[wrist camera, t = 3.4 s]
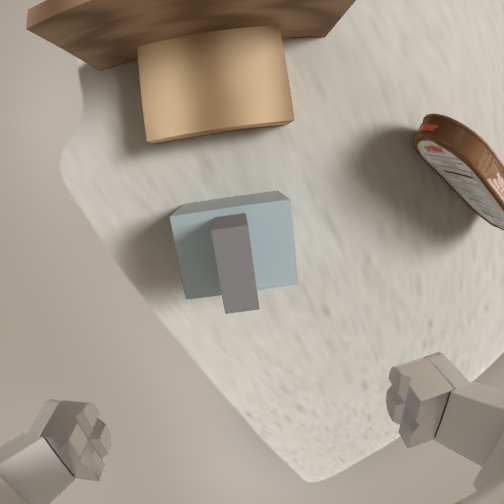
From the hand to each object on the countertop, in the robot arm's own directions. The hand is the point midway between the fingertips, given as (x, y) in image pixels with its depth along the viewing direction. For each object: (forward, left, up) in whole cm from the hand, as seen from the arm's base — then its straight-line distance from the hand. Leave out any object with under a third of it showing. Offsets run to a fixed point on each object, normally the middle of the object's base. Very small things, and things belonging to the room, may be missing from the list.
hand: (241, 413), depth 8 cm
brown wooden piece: (0, -13, -21) cm, 24 cm away
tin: (-22, -3, -21) cm, 31 cm away
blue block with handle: (0, 0, -21) cm, 21 cm away
